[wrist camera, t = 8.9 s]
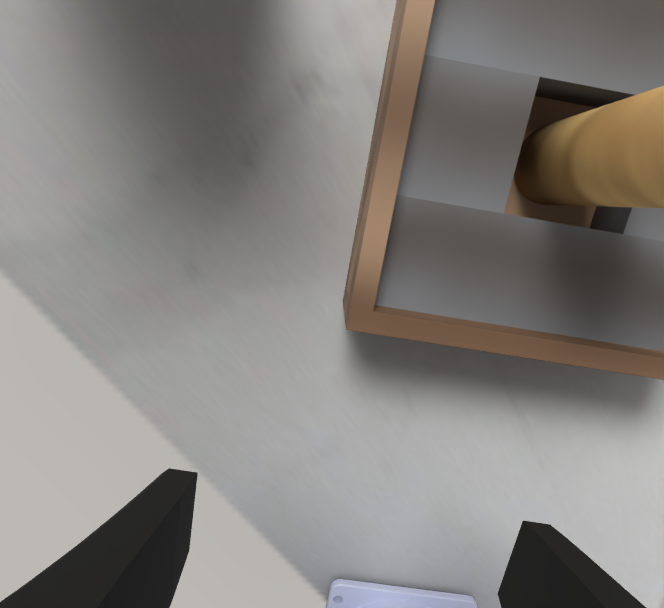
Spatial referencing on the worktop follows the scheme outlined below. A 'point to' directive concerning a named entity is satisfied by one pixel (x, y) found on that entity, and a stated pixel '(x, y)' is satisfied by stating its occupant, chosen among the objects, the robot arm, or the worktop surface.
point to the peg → (598, 156)
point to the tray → (506, 187)
